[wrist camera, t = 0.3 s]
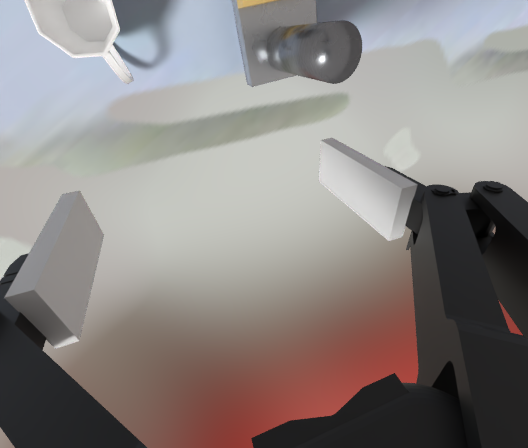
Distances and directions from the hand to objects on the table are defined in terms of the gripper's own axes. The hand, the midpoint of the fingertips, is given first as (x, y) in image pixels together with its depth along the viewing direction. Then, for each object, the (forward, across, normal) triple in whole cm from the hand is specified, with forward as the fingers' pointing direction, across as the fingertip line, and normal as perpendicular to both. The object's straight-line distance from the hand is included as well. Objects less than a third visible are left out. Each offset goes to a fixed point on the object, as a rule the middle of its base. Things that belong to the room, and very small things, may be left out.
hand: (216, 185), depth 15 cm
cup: (+27, -6, +8) cm, 29 cm away
